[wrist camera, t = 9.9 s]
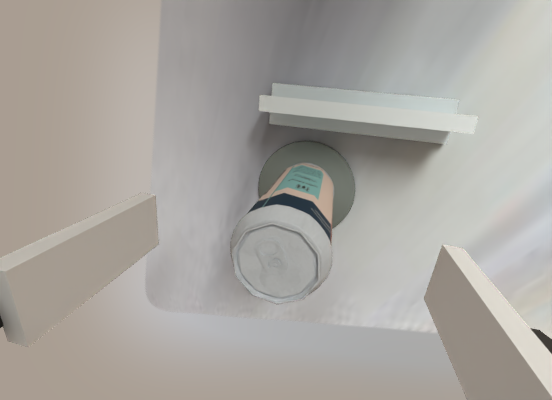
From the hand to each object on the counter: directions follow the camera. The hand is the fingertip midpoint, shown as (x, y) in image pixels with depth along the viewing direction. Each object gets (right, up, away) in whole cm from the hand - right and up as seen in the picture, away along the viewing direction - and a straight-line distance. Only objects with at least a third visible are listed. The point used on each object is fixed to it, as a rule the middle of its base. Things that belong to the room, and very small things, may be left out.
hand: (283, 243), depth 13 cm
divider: (+6, +9, +8) cm, 13 cm away
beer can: (+2, +3, +10) cm, 11 cm away
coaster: (+2, +3, +11) cm, 11 cm away
